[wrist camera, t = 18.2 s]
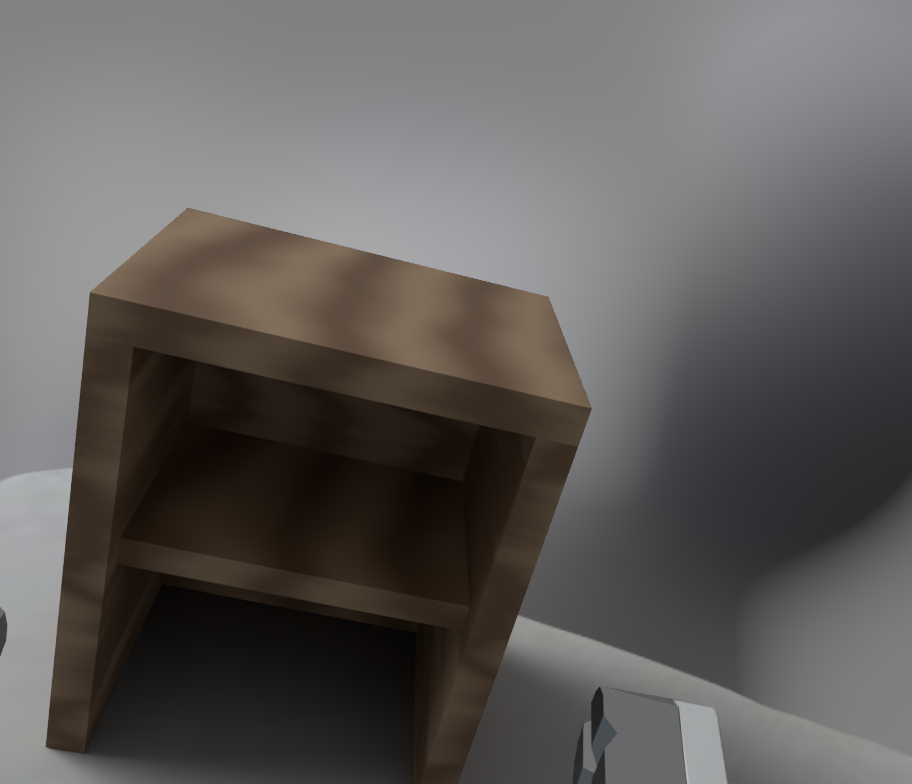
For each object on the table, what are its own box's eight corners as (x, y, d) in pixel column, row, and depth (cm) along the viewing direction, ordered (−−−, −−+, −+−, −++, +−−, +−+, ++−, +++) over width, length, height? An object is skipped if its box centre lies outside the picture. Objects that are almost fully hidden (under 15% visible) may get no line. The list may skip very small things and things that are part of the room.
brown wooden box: (443, 627, 64) (548, 296, 54) (446, 813, 49) (591, 408, 39) (137, 567, 61) (187, 207, 51) (45, 746, 47) (90, 292, 36)
